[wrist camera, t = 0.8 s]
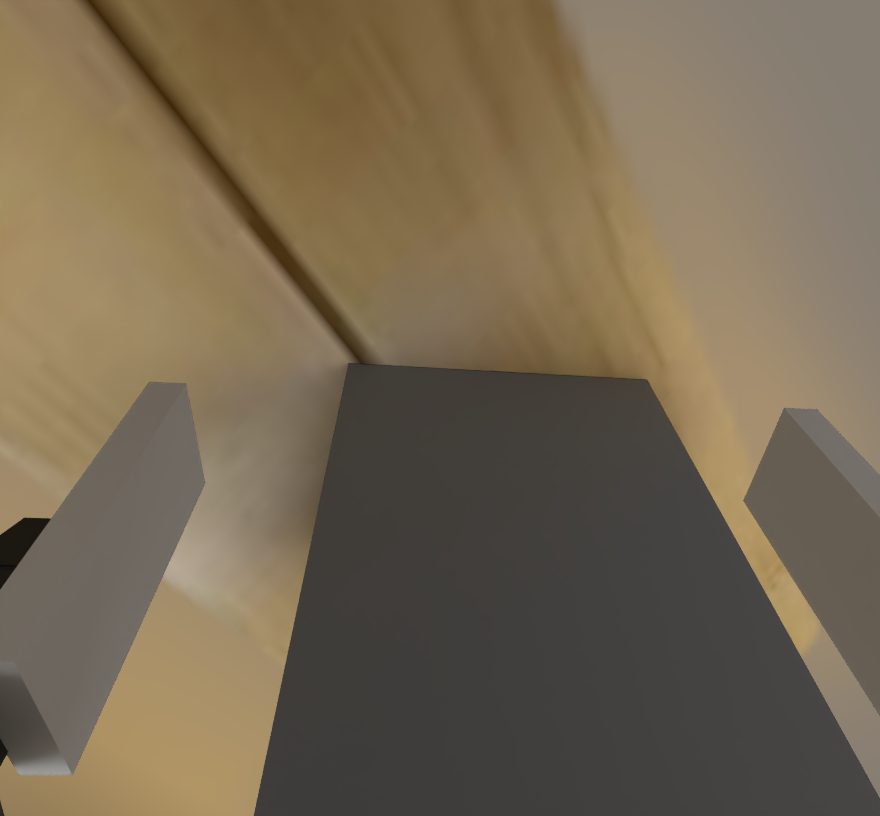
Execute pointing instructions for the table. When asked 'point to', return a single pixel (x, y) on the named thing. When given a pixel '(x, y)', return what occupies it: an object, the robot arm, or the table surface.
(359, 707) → the cabinet
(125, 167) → the table surface
